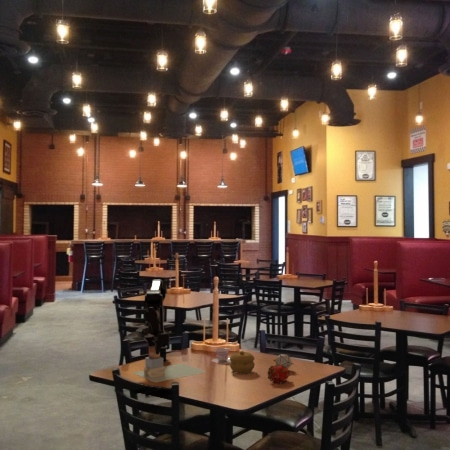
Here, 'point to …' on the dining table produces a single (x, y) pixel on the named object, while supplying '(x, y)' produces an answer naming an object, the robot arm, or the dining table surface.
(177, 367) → the felt mat
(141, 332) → the robot arm
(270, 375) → the dragon fruit
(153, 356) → the terracotta cylinder
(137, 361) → the dining table surface
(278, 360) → the game die
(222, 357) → the teacup
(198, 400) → the dining table surface
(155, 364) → the tower top
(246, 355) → the pot
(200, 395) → the dining table surface
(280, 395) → the dining table surface
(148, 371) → the tower base
